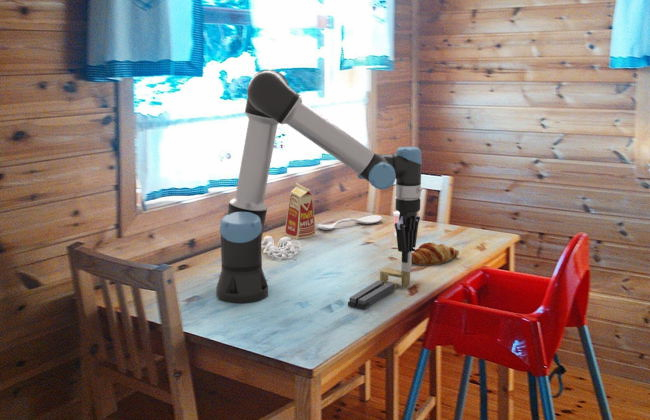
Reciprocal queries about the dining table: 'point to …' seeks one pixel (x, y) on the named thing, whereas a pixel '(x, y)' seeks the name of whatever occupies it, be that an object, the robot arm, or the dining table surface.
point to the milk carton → (300, 214)
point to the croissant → (433, 254)
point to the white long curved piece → (364, 220)
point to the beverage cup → (396, 219)
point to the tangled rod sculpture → (274, 250)
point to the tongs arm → (364, 293)
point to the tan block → (395, 273)
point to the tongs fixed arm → (376, 295)
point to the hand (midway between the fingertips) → (406, 271)
